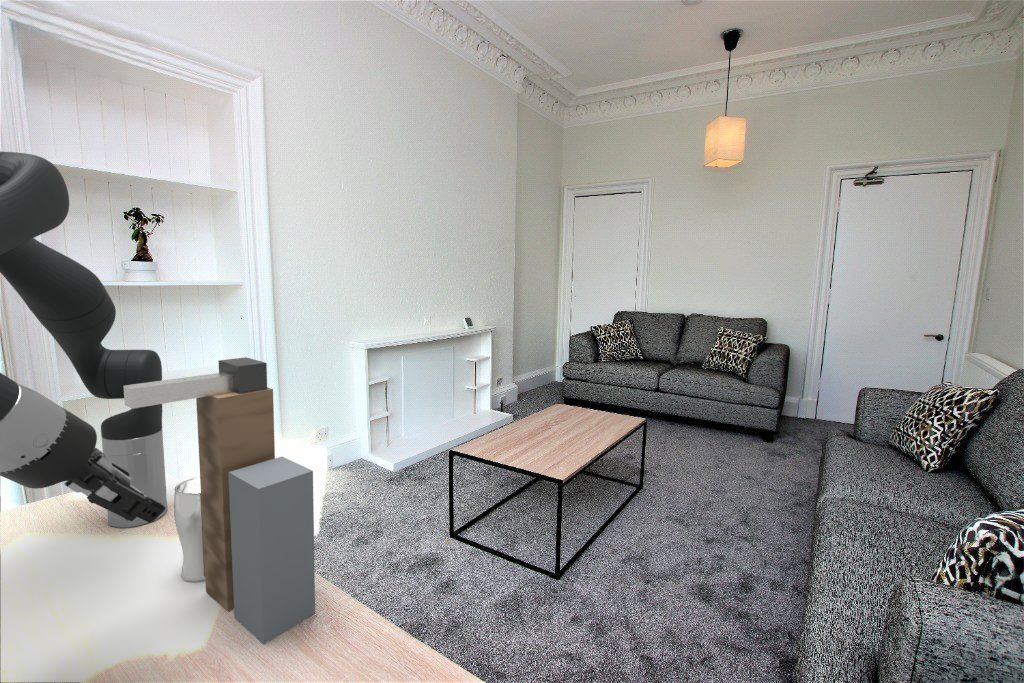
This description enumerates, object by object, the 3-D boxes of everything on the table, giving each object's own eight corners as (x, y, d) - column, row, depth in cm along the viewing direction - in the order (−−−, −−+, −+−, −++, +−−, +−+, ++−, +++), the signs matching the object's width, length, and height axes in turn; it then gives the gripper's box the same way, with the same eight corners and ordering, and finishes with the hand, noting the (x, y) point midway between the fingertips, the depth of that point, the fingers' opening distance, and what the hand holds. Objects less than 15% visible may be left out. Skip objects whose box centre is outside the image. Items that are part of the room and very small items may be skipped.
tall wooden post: (205, 592, 74) (195, 389, 70) (255, 568, 80) (249, 381, 76) (227, 611, 70) (218, 398, 66) (278, 585, 76) (273, 389, 72)
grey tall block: (234, 618, 69) (228, 472, 66) (285, 590, 75) (281, 456, 72) (263, 644, 64) (258, 489, 61) (315, 613, 71) (312, 470, 67)
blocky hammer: (119, 402, 62) (117, 371, 61) (247, 382, 75) (246, 357, 74) (137, 411, 59) (135, 379, 58) (267, 389, 72) (266, 362, 71)
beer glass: (168, 575, 78) (163, 487, 76) (212, 553, 84) (208, 472, 82) (193, 589, 74) (188, 498, 72) (237, 566, 81) (233, 481, 78)
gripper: (-46, 433, 48) (83, 494, 61) (12, 503, 43) (141, 555, 55) (30, 379, 52) (137, 447, 65) (93, 436, 46) (197, 499, 59)
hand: (139, 496), depth 60 cm, fingers open, 8 cm apart
